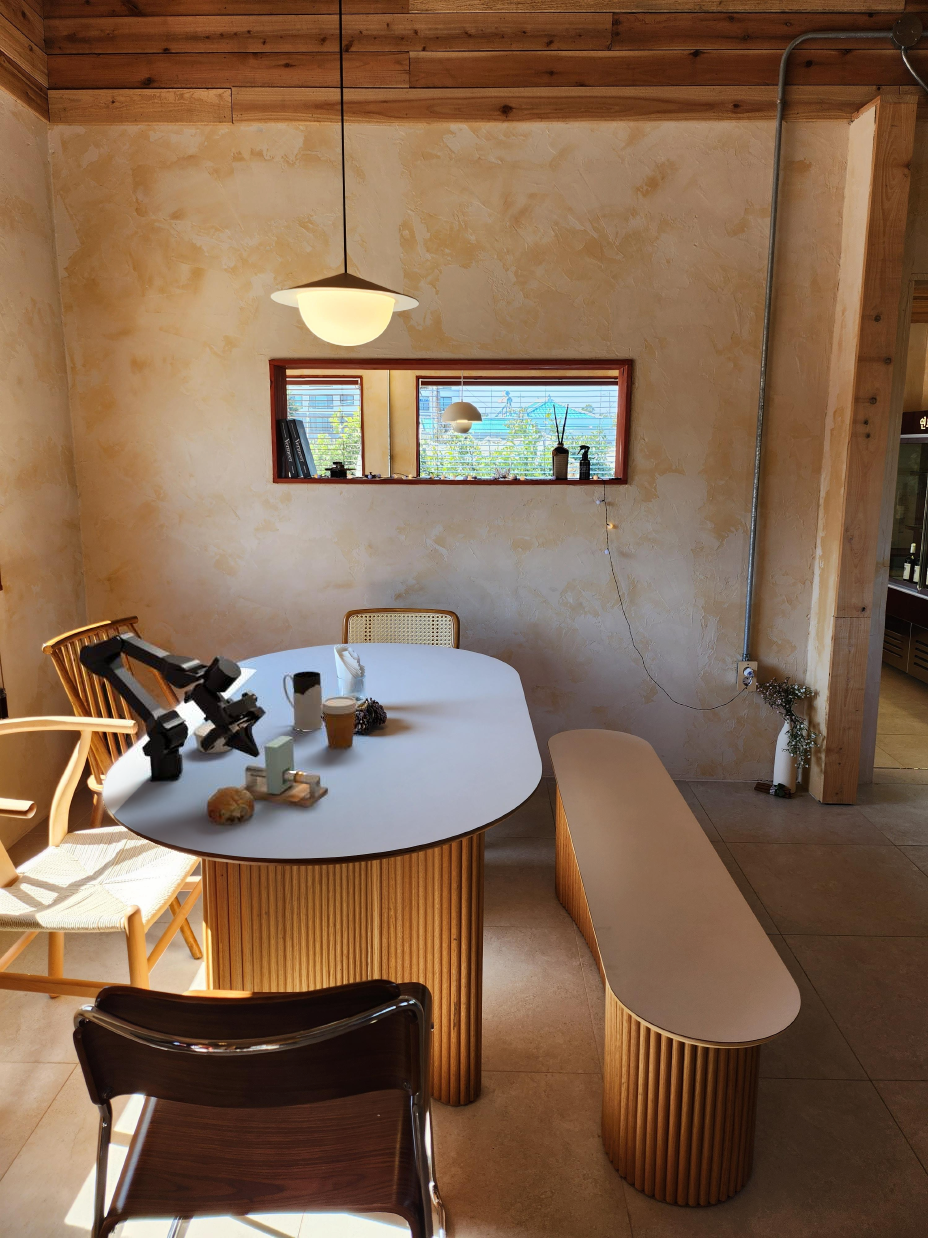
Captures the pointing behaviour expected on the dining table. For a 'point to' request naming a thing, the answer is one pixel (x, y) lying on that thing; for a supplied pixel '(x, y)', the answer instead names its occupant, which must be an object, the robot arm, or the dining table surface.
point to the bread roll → (230, 806)
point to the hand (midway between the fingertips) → (257, 756)
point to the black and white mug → (306, 700)
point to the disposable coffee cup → (339, 721)
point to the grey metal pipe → (285, 778)
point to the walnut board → (285, 793)
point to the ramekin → (202, 731)
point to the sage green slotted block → (278, 763)
